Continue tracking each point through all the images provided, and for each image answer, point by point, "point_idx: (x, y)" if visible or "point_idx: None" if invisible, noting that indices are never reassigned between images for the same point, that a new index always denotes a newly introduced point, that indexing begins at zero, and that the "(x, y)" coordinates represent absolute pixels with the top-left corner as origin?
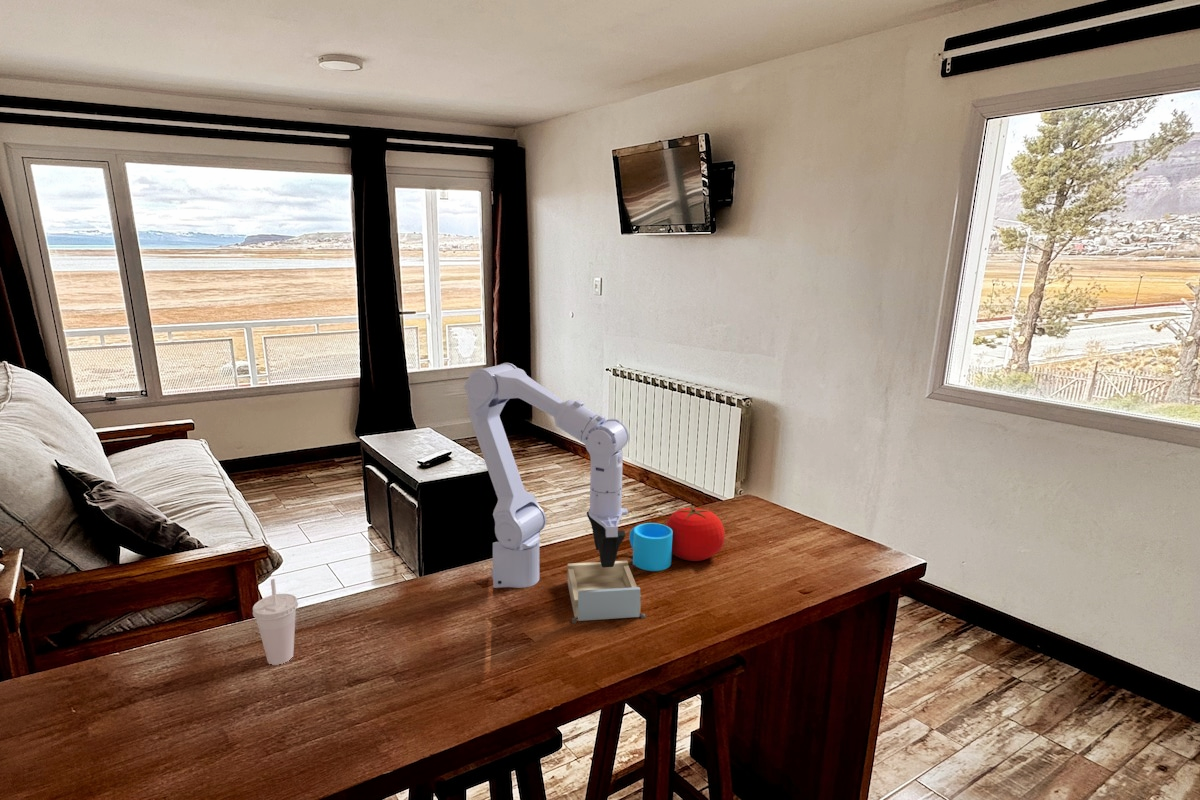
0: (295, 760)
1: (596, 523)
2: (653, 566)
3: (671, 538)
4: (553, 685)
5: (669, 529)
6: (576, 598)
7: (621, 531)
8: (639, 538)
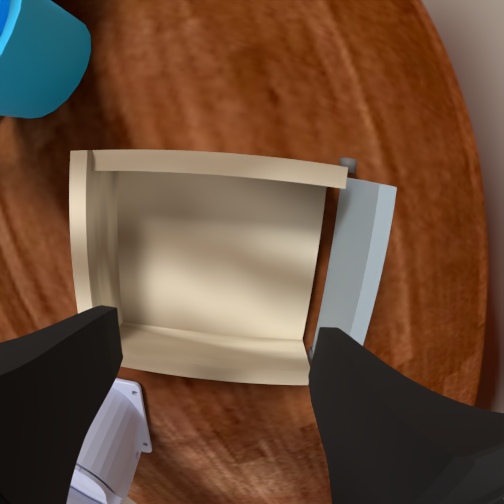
0: None
1: (55, 474)
2: (73, 57)
3: None
4: (452, 384)
5: None
6: (300, 380)
7: (480, 476)
8: None
